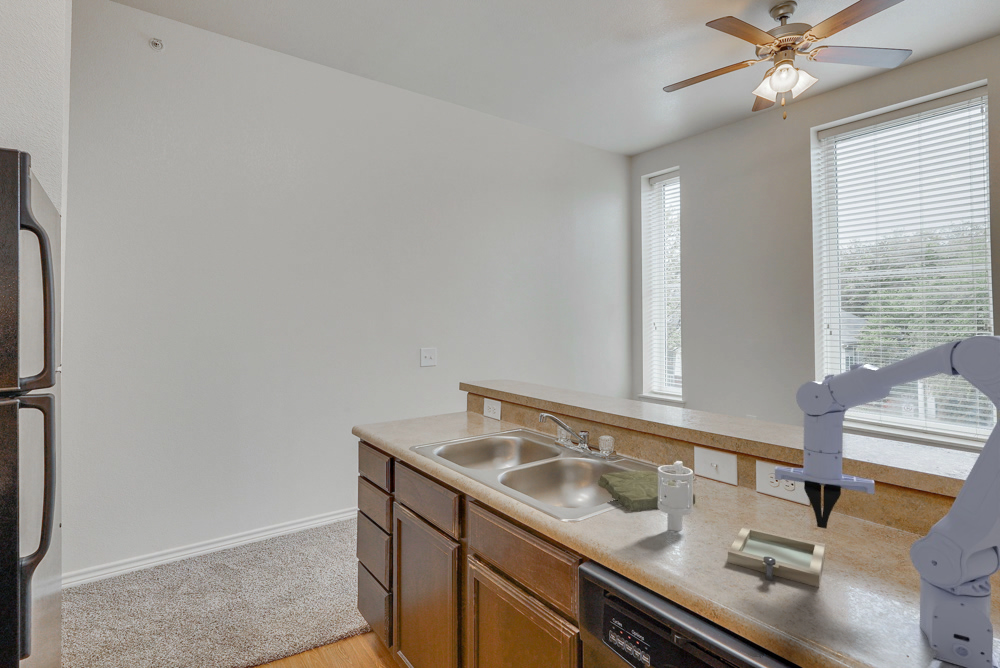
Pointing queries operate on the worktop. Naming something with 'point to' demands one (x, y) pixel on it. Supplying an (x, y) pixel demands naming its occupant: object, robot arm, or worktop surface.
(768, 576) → the knob
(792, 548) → the picture frame
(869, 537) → the worktop surface
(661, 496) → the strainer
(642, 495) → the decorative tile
